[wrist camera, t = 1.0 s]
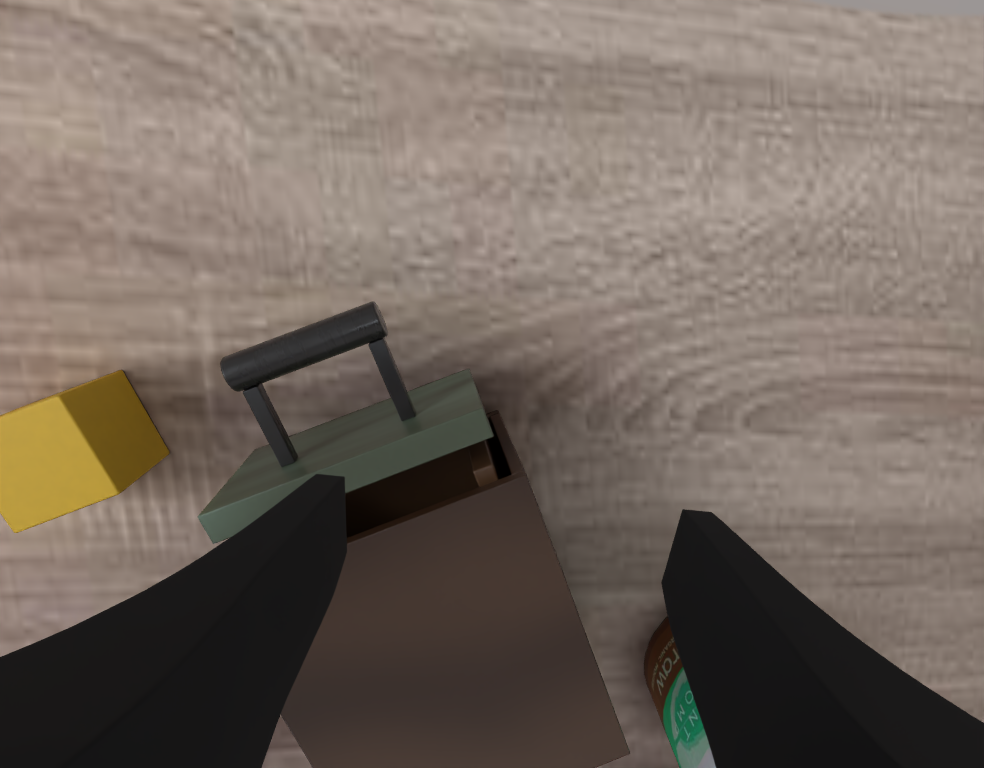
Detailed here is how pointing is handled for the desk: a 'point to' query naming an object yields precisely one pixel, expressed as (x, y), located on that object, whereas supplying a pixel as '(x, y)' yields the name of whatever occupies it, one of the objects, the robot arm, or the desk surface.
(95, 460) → the block
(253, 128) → the desk surface
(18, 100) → the desk surface
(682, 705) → the food container
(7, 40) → the desk surface
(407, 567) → the cabinet
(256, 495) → the drawer
